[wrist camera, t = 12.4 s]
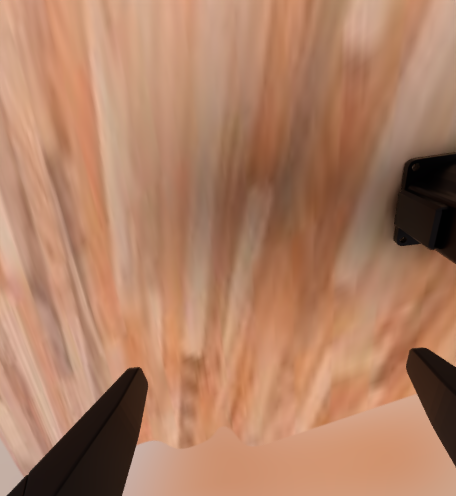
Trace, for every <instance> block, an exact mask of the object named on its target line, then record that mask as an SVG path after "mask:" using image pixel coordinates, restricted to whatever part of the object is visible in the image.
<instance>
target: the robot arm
mask: <svg viewBox="0 0 456 496" xmlns="http://www.w3.org/2000/svg"><path fill="white" fill-rule="evenodd" d="M414 164H416V168H414V169H413V170H412V166H413V165H414ZM394 224H395V225H396V228H395V235H394V241H395V243H397V244H398V245H400V246H406V245H414V244H423V245H424V246H425V247H427V248H428V249H430V250H436V251H437V252H439V253H440V254H442V255H443V256H445V257H446V258H448V259H449V260H451V261H452V262H454V263H455V264H456V152H454V153H447V154H441V155H434V156H428V157H421V158H414V159H411V160H409V161H408V162H407V163H406V164H405V167H404V174H403V181H402V188H401V191H400V192H399V195H398V202H397V209H396V215H395V222H394ZM403 237H404V239H403V240H401V241H400V239H401V238H403ZM406 369H407V373H408V375H409V377H410V379H411V382H412V384H413V386H414V388H415V390H416V392H417V394H418V397H419V399H420V401H421V403H422V405H423V407H424V410H425V412H426V414H427V416H428V418H429V420H430V422H431V424H432V426H433V428H434V430H435V431H436V433H437V435H438V437H439V439H440V440H441V442H442V444H443V446H444V447H445V449H446V451H447V452H448V454H449V456H450V458H451V459H452V461H453V463H454V465H455V466H456V367H455V366H453V365H452V364H450V363H449V362H447V361H445V360H444V359H442V358H441V357H439V356H438V355H436V354H435V353H433V352H432V351H430V350H429V349H427V348H412V349H411V350H410V351H409V355H408V359H407V364H406ZM147 390H148V382H147V379H146V377H145V375H144V373H143V371H142V369H141V368H140V367H134V368H129V369H127V370H126V371H125V372H124V373H123V374H122V375H121V377H120V378H119V379H118V380H117V381H116V382H115V383H114V384H113V385H112V386H111V387H110V388H109V389H108V390H107V391H106V392H105V393H104V394H103V395H102V396H101V398H100V399H99V400H98V401H97V402H96V403H95V404H94V405H93V406H92V407H91V408H90V409H89V410H88V411H87V412H86V413H85V414H84V415H83V416H82V417H81V419H80V420H79V421H78V422H77V423H76V424H75V425H74V426H73V427H72V428H71V429H70V430H69V431H68V432H67V433H66V434H65V435H64V436H63V437H62V438H61V440H60V441H59V442H58V443H57V444H56V445H55V446H54V447H53V448H52V449H51V450H50V451H49V452H48V453H47V454H46V455H45V456H44V457H43V458H42V459H41V461H40V462H39V463H38V464H37V465H36V466H35V467H34V468H33V469H32V470H31V471H30V472H29V475H26V476H25V477H24V478H23V479H22V480H21V482H19V483H18V485H17V486H16V487H15V488H14V489H13V490H12V491H11V492H10V493H9V494H8V495H7V496H122V493H123V490H124V487H125V483H126V479H127V476H128V472H129V469H130V465H131V462H132V458H133V455H134V451H135V448H136V444H137V441H138V437H139V432H140V428H141V422H142V417H143V412H144V406H145V401H146V396H147Z"/></svg>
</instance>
